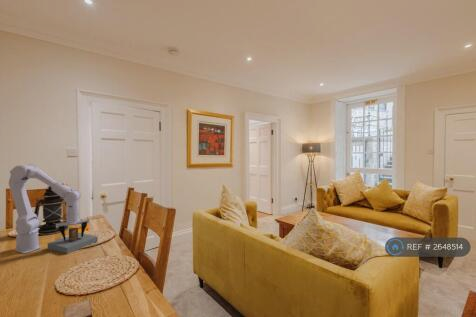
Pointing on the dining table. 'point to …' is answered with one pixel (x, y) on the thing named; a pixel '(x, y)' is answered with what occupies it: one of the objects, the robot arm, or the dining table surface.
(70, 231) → the peg
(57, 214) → the lantern
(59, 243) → the hole block
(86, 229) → the pipe clamp
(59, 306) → the dining table surface
